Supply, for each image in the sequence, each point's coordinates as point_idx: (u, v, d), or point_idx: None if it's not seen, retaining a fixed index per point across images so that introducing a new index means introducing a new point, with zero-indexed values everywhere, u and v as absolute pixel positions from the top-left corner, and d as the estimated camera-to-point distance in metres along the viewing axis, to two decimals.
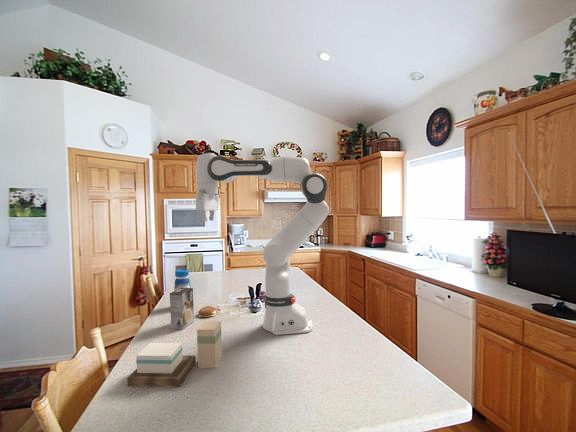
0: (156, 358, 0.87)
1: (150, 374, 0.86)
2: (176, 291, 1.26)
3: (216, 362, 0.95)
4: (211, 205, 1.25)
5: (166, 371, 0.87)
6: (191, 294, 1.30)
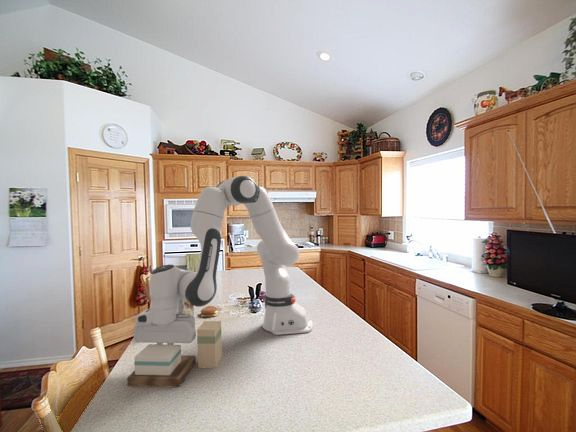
0: (154, 360, 0.86)
1: None
2: None
3: (216, 362, 0.95)
4: None
5: (165, 373, 0.86)
6: None
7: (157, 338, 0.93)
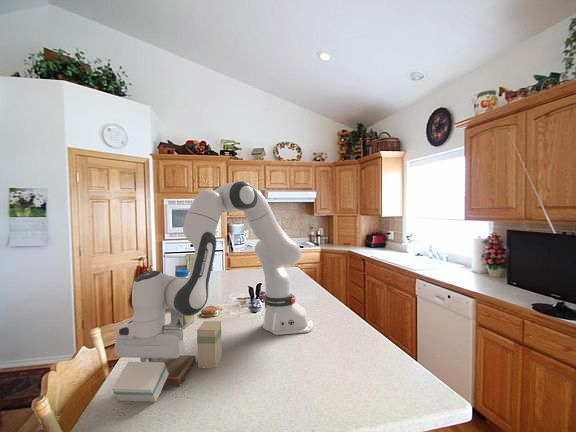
0: (135, 391, 0.76)
1: None
2: None
3: (216, 362, 0.95)
4: None
5: (150, 400, 0.78)
6: None
7: (141, 353, 0.84)
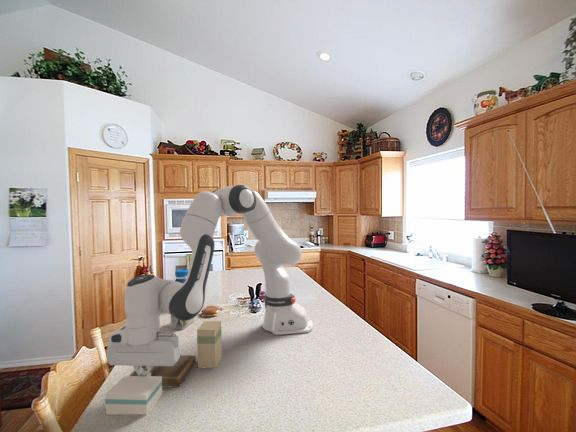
0: (129, 398, 0.73)
1: None
2: None
3: (216, 362, 0.95)
4: None
5: (141, 413, 0.73)
6: None
7: (134, 360, 0.80)
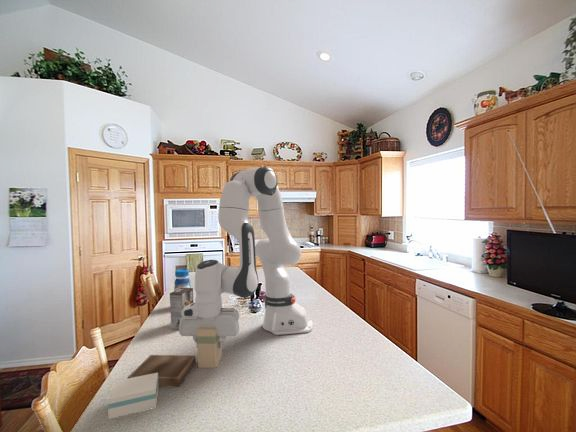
0: (136, 396, 0.74)
1: None
2: (176, 291, 1.26)
3: (216, 362, 0.95)
4: None
5: (150, 408, 0.75)
6: (191, 294, 1.30)
7: None
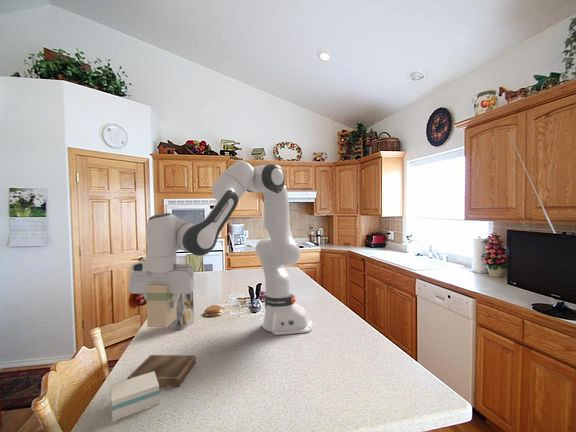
0: (140, 394, 0.74)
1: None
2: None
3: (167, 321, 0.88)
4: None
5: (153, 405, 0.76)
6: (191, 294, 1.30)
7: None
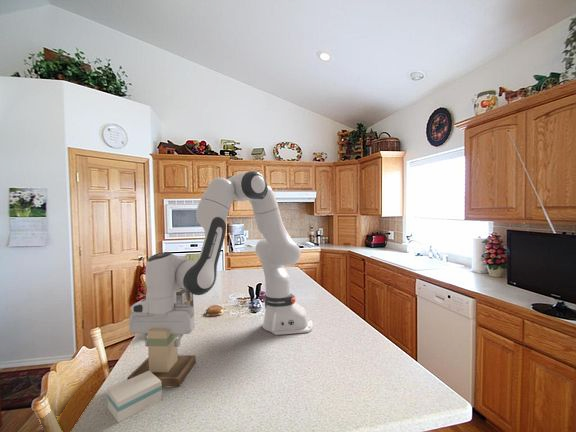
0: (144, 392, 0.75)
1: None
2: (176, 291, 1.26)
3: (169, 366, 0.88)
4: None
5: (156, 401, 0.78)
6: (191, 294, 1.30)
7: None
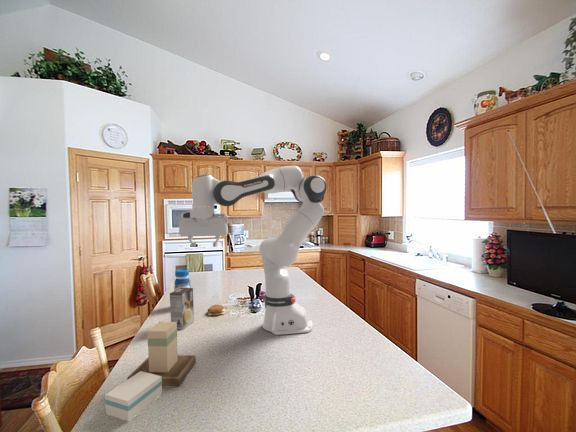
0: (148, 388, 0.77)
1: None
2: (176, 291, 1.26)
3: (169, 366, 0.88)
4: None
5: None
6: (191, 294, 1.30)
7: (198, 232, 1.17)
